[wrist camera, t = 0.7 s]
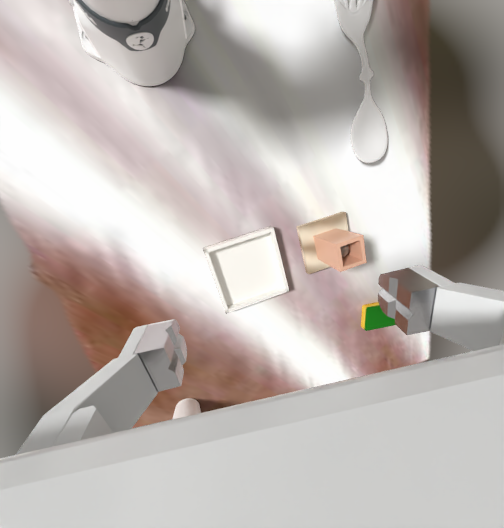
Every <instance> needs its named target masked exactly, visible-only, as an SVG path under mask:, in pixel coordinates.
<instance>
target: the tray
mask: <svg viewBox="0 0 504 528" xmlns="http://www.w3.org/2000/svg"><path fill="white" fill-rule="evenodd" d="M203 251H204V253H205V256H206V259H207V262H208V265H209V267H210V270H211V273H212V276H213V279H214V281H215V284H216V287H217V290H218V293H219V295H220V298H221V301H222V304H223V307H224V309H225V312H226V314H227V313H229V312H232V311H235V310H238V309H241V308H243V307H246V306H249V305H252V304H255V303H257V302H260V301H263V300H266V299H269V298H271V297H274V296H277V295H280V294H283V293H285V292H288V291H289V288H288V284H287V280H286V275H285V271H284V267H283V263H282V259H281V255H280V251H279V247H278V243H277V239H276V235H275V231H274V227H271V226H269V227H266V228H263V229H260V230H257V231H254V232H251V233H247V234H244V235H241V236H238V237H235V238H232V239H229V240H226V241H222V242H219V243H216V244H213V245H210V246H207V247H204V248H203Z"/></svg>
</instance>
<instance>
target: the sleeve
mask: <svg viewBox="0 0 504 528" xmlns="http://www.w3.org/2000/svg"><path fill="white" fill-rule="evenodd" d="M313 238H314V243H315V248H316V253H317V258H318V260H320V261H322V262H324V263H325V264H327V265H329V266H331V267H333V268H334V269H336V270H338V271H340V272H341V271H344V270H347V269H350V268H353V267H356V266H358V265H361V264H364V263H367V262H366V254H365V246H364V237H363V235H361V234H357V233H353V232H349V231H345V230H341V229H337V228H335V229H332V230H329V231H326V232H323V233H320V234H317V235H314V236H313ZM344 245H348V246H349V252H348V254H347V255H346V256H344V257H342V255H341V249H340V247H341V246H344Z"/></svg>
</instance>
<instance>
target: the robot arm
mask: <svg viewBox="0 0 504 528" xmlns="http://www.w3.org/2000/svg"><path fill="white" fill-rule="evenodd" d="M68 1H69V3H70V5H71V6H73V9H74V13H75V18H76V22H77V26H78V30H79V35H80V39H81V43H82V46H83V48H84V50H85V52H86V53H87V54H88V55H89V56H91V57H93V58H95V59H97V60H99V61H102V62H104V63H106V64H107V65H108V66H110V67H111V68H112V69H113V70H114V71H115V72H116V73H117V74H118V75H120V76H121V77H123V78H124V79H126V80H128V81H130V82H132V83H134V84H137V85H142V86H156V85H160V84H162V83H165V82H166V81H168V80H169V79H171V78H172V77H173V76H174V75H175V74H176V72H177V71H178V69H179V67H180V65H181V63H182V60H183V56H184V51H185V47H186V45H187V43H188V42H189V41H190V39H191V38H192V36H193V35H194V32H195V27H194V22H193V20H192V18H191V15H190V13H189V11H188V9H187V6H186V4H185V2H184V0H68ZM184 17H185V18H186V20H184ZM87 38H88V40H87ZM379 285H380V286H381V287H382V289H381V290H380V292H379V293H378V302H379V305H380V308H381V309H382V311H383V312H384V313H385V314H386V315H387V316H388V317H391V318H394V319H395V324H396V325H397V326H398V327H399V328H400V329H401V330H402V331H403V332H404V333H405V334H406V335H410V334H415V333H420V332H426V331H430V332H432V333H434V334H437V335H439V336H441V337H443V338H445V339H448V340H450V341H452V342H454V343H456V344H459V345H461V346H463V347H465V348H467V349H470V350H472V352H467V353H463V354H459V355H454V356H450V357H446V358H441V359H436V360H432V361H428V362H423V363H419V364H414V365H410V366H405V367H401V368H396V369H392V370H388V371H383V372H379V373H374V374H370V375H365V376H361V377H357V378H352V379H348V380H343V381H339V382H335V383H330V384H326V385H321V386H317V387H313V388H308V389H304V390H300V391H295V392H291V393H286V394H282V395H278V396H273V397H269V398H265V399H260V400H256V401H251V402H247V403H243V404H238V405H234V406H229V407H225V408H221V409H216V410H212V411H207V412H203V413H199V414H194V415H190V416H185V417H181V418H177V419H172V420H168V421H163V422H159V423H155V424H150V425H146V426H141V427H137V428H133V429H131V428H132V427H133V426H134V424H135V423H136V422H137V420H138V419H139V418H140V416H141V415H142V414H143V412H144V411H145V410H146V408H147V407H148V406H149V404H150V403H151V402H152V400H153V399H154V397H155V396H156V395H157V393H158V392H159V391H163V390H167V389H171V388H175V387H178V386H181V383H182V378H183V373H184V369H183V367H182V365H183V364H184V363H185V361H186V357H187V347H186V343H185V340H184V337H183V336H181V335H180V334H178V333H179V329H180V327H179V325H178V323H177V321H176V320H175V319H173V320H168V321H163V322H158V323H153V324H149V325H143V326H139V327H136V328H134V329H133V331H132V333H131V335H130V337H129V339H128V340H127V342H126V344H125V346H124V348H123V350H122V352H121V353H120V355H119V357H118V358H116V359H113V360H112V361H111V362H109V363H108V364H107V365H106V366H104V367H103V368H102V369H101V370H99V371H98V372H97V373H96V374H94V375H93V376H92V377H91V378H90V379H88V380H87V381H86V382H85V383H83V384H82V385H81V386H80V387H78V388H77V389H76V390H75V391H73V392H72V393H71V394H70V395H68V396H67V397H66V398H65V399H63V400H62V401H61V402H60V403H58V404H57V405H56V406H55V407H53V408H52V409H51V410H50V411H49V412H47V413H46V414H45V415H43V417H42V418H41V420H40V421H39V422H38V424H37V425H36V427H35V428H34V430H33V431H32V433H31V434H30V435H29V437H28V438H27V439H26V441H25V442H24V444H23V445H22V446H21V448H20V450H19V451H18V452H17V454H16V455H14V456H9V457H5V458H0V528H504V291H502V290H497V289H492V288H486V287H481V286H476V285H470V284H465V283H454V282H451V281H450V280H448V279H446V278H445V277H443V276H441V275H439V274H437V273H435V272H433V271H432V270H430V269H428V268H426V267H424V266H421V265H417V266H413V267H409V268H405V269H401V270H397V271H393V272H389V273H385V274H381V275H380V277H379Z"/></svg>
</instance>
